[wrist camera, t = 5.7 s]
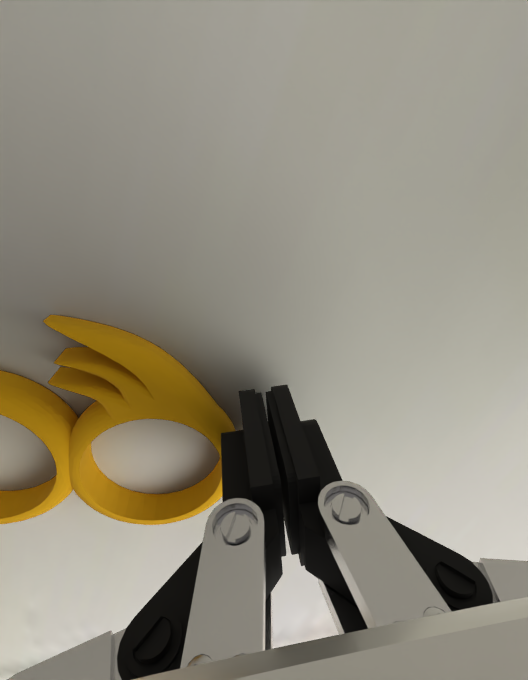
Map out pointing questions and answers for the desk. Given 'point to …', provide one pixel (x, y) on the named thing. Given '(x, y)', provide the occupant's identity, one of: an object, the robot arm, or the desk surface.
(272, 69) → the desk surface
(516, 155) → the desk surface
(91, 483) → the yellow triple ring ornament
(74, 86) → the desk surface
